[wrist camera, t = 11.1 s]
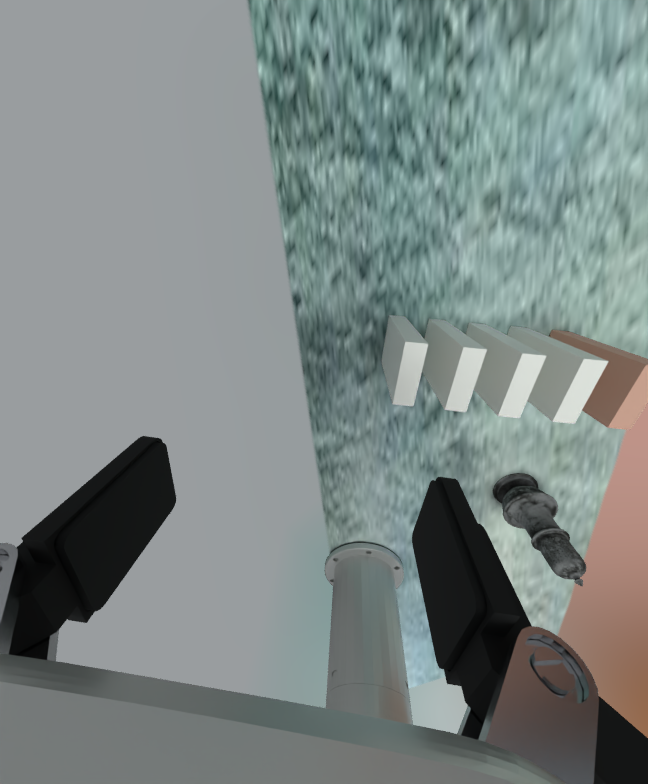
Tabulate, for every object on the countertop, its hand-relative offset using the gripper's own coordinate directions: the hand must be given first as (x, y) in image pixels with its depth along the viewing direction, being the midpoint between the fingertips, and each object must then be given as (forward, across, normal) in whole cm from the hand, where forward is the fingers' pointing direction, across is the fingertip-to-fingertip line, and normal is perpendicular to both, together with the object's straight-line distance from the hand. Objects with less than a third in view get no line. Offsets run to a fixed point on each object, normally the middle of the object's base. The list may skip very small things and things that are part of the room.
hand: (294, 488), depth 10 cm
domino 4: (+22, -18, 0) cm, 29 cm away
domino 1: (+22, -6, 0) cm, 23 cm away
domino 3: (+22, -14, 0) cm, 27 cm away
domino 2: (+22, -10, 0) cm, 25 cm away
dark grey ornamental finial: (+23, -26, +18) cm, 38 cm away
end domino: (+22, -22, 0) cm, 32 cm away
